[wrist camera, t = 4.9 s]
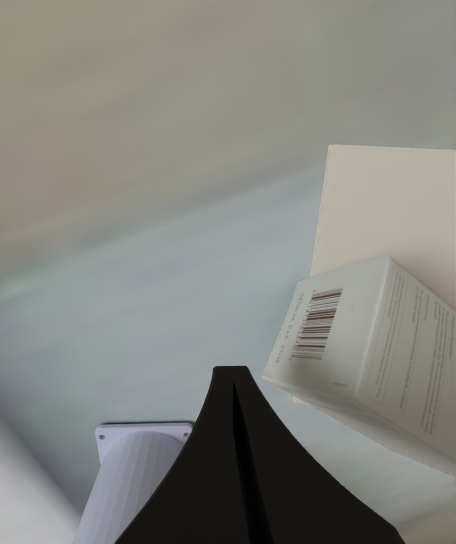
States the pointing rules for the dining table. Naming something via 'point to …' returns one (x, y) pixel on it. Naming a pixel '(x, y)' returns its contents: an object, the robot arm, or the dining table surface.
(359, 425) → the supplement box
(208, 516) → the robot arm
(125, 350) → the dining table surface
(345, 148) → the mat
